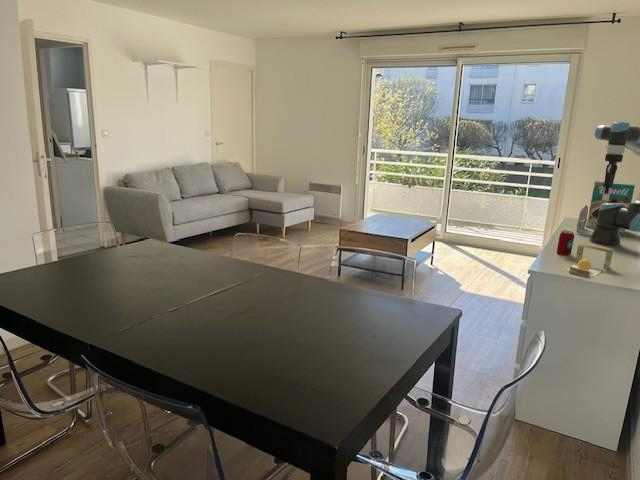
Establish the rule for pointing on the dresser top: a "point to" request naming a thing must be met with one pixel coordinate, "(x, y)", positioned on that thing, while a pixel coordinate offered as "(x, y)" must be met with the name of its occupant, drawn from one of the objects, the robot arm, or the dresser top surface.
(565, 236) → the beverage can
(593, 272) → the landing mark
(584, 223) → the ornament
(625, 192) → the cake mix box
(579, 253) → the bridge
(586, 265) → the ball
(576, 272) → the wall
